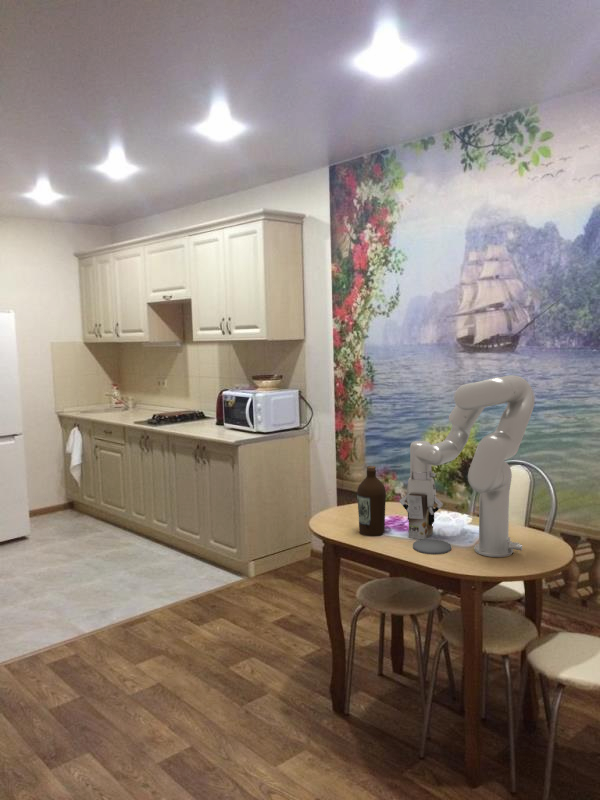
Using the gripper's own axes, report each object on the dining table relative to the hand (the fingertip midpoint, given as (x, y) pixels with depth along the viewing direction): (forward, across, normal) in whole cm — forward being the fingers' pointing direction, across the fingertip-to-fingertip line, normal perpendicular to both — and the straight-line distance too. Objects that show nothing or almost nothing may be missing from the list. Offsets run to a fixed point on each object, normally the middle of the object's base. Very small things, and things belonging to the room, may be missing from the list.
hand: (420, 522), depth 239 cm
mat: (+5, -7, +12) cm, 15 cm away
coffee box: (+5, 0, 0) cm, 5 cm away
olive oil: (+5, +18, +3) cm, 19 cm away
